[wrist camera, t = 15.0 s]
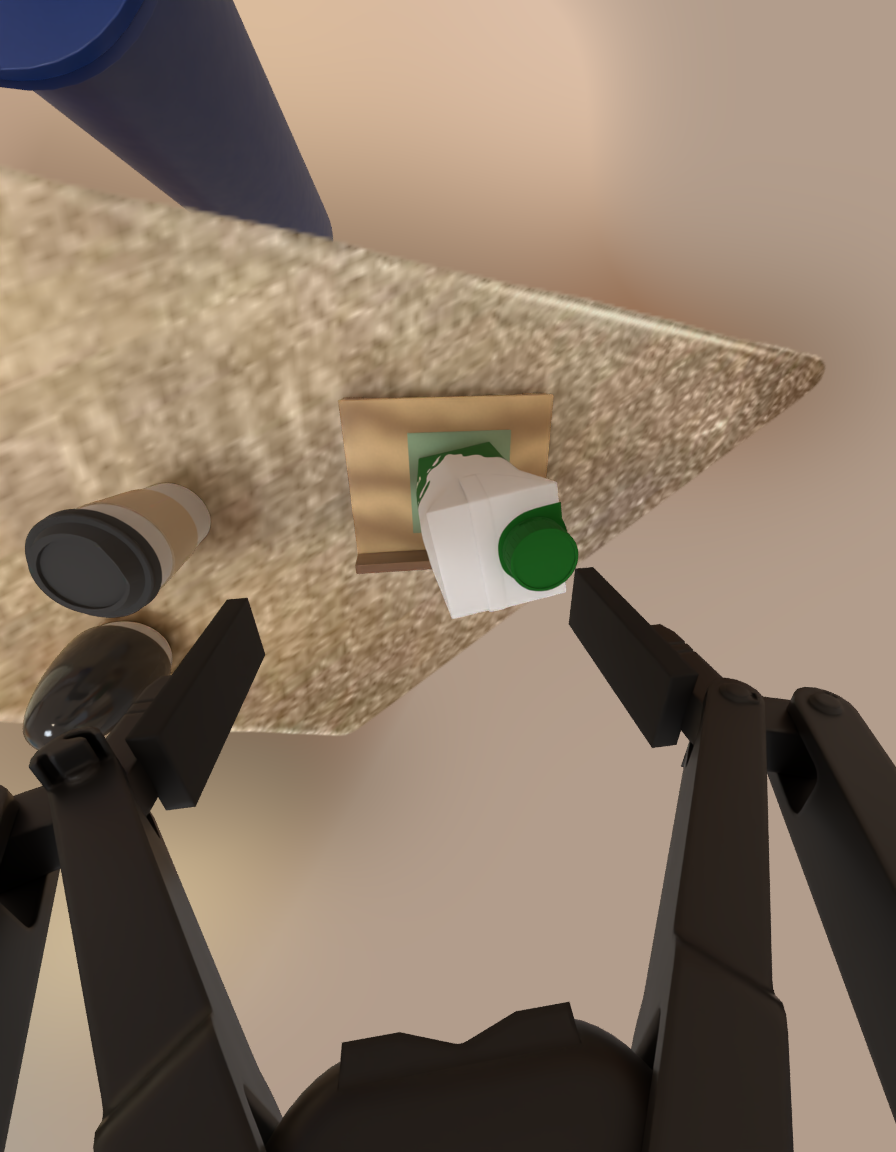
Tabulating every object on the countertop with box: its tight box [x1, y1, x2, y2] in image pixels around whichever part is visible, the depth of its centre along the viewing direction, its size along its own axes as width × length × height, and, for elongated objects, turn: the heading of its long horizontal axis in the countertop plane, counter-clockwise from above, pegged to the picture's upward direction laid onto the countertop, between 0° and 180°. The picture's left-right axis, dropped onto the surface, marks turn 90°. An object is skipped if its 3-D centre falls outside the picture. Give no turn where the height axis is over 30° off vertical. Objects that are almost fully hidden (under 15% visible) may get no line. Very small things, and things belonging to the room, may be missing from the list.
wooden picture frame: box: [338, 393, 553, 574], centre depth 41 cm, size 16×20×7 cm
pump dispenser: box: [23, 621, 172, 750], centre depth 43 cm, size 10×10×15 cm
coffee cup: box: [25, 483, 211, 618], centre depth 36 cm, size 9×9×15 cm
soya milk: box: [416, 442, 578, 619], centre depth 32 cm, size 9×9×20 cm
